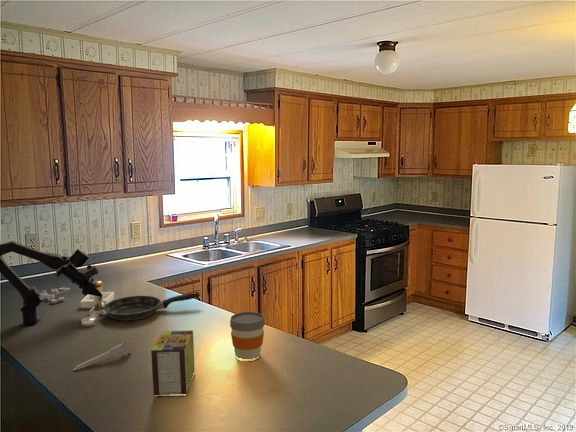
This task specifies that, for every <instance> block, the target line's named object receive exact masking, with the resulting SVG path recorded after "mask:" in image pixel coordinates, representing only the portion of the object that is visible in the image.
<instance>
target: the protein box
mask: <svg viewBox="0 0 576 432" xmlns="http://www.w3.org/2000/svg"><path fill="white" fill-rule="evenodd" d="M157 338H158V339H157V340H156V342H155V343H154V345H153V347H152V348H151V349H150V351H151V352H150V354H151V369H152V370H151V371H152V389H153V391H152V392H153V396H154V395H170V394H187V391H188V388H189V385H190V382H191V379H192V376H193V373H194V371H195V372H196V370H195V347H194V345H195V344H194V330H162V331H161V333H160V334H159V337H157ZM191 383H192V382H191ZM190 386H191V385H190ZM189 389H190V388H189ZM188 392H189V391H188ZM187 395H188V394H187Z"/></svg>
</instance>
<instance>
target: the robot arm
mask: <svg viewBox="0 0 576 432" xmlns="http://www.w3.org/2000/svg"><path fill="white" fill-rule="evenodd" d="M11 252H12V253H15V254H18V255H20V256H22V257H23V256H24V257H26V258H30V259H32V260H36V261H37V262H40V263H42V264H43V265H45V266H47V267H48V268H49V269H52V270H55V272H56V278H59V277H60V276H64V277H65V278H66V279H68V280H69V281H70V282H71V284H75V285H76V286H77V287H78V288H79V289H80V290H81V294H82V295H83V296H85V297H86V296H87V295H94V296H99V297H101V296H102V294H101V293H100V292H99V291H98V290H97V288H96V287H95V282H94V281H95V280H94V278H92V277H94V276H95V275H98V274H99V273H100V272H99V270H98V269H97V266H96V265H94V264H93V265H91V264H88V265H86V269H85V270H79V269H78V268H82V267H83V266H84V265H85V264H86V263H87V261H89V260H90V258H91V257H90V256H89V255H88V254H87V253H86V252H85V251H83V250H80V249H79V248H76V249H75V251H74V252H73V253H72V254H71V255H70V256H65V255H61V254H57V253H54V252H44V251H41V250H38V249H37V248H33V247H30V246H27V245H24V244H21V243H18V242H16V241H15V240H10V241H8V242H5V243H1V244H0V274H1V275H2V276H3V277H4V278H5V279H6V280H7V281H8V283H10V284H11V285H12V286H13V288H14V289H16V291H18V293H19V294H20V296H21V298H22V300H23V302H22V303H21V306H20V311H21V316H22V322H21V323H19V326H21V327H22V326H35V325H37V324H38V323H39V322H40V321H41V320H42V319H41V318H38V309H37V307H38V306H40V304H41V301H42V300H41V294H40V291H41V290H39V289H38V288H37V287H36V286H35V285H33V286H30V285H28V284H27V283H26V282H25V281H24V280H23V279H22V278H21V276H19V275H18V274H17V273H16V271H15V270H14V269H12V267H11V266H10V265H9V264H8V263H7V262H6V261H5V259H4V257H3V256H5V255H7V254H9V253H11Z"/></svg>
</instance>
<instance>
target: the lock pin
mask: <svg viewBox="0 0 576 432" xmlns="http://www.w3.org/2000/svg"><path fill="white" fill-rule="evenodd" d="M94 282H95V287H96V288H97V290H98V291H99V292H100V293H101V294H102V296H101V297H99V296H94V295H93V297H94V310H102V309H103V292H104V291H103V281H102V280H94Z"/></svg>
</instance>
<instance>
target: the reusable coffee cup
mask: <svg viewBox="0 0 576 432" xmlns="http://www.w3.org/2000/svg"><path fill="white" fill-rule="evenodd" d="M265 324H266V323H265V317H264V315H263V314H262V313H259V312H256V311H255V312H254V311H243V312H237V313H234V314H232V315H231V316H230V322H229V326H230V328H231V331H230V336H231V341H232V346H233V347H234V354H235V357H236V356H237V357H238V358H242V359H253V358H257V357H258V356H259V355H260V356H261V352H262V346H263V344H264V333H265V331H264V327H265Z"/></svg>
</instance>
